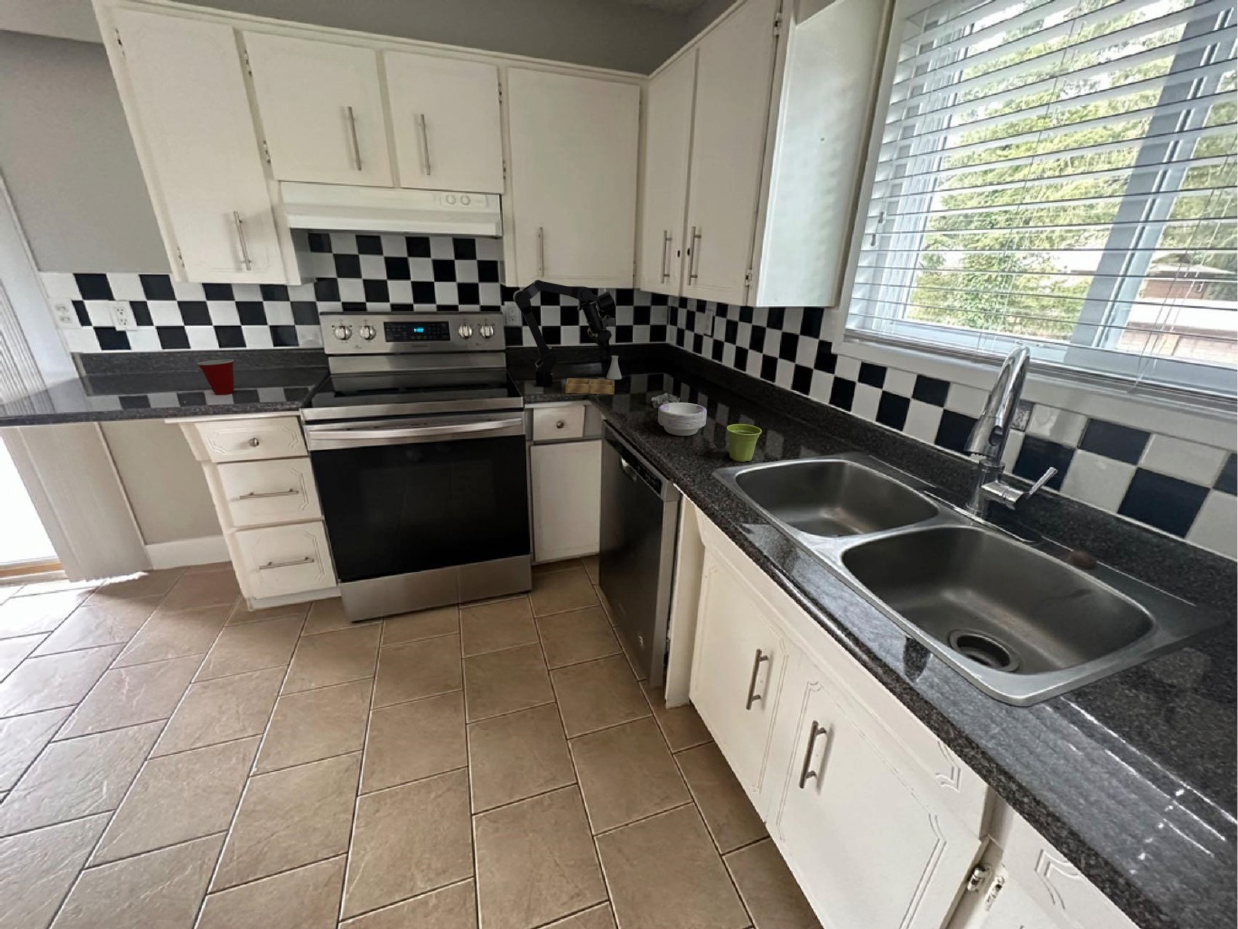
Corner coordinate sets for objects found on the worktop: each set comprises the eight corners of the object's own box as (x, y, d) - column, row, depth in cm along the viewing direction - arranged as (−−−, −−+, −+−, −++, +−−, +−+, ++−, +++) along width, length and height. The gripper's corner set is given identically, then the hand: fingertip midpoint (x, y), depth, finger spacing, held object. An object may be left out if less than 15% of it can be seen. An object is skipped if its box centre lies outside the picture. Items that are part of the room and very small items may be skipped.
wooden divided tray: (565, 392, 201) (565, 384, 200) (567, 386, 211) (567, 378, 209) (614, 394, 202) (614, 385, 200) (613, 388, 211) (614, 379, 210)
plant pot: (720, 461, 138) (724, 431, 135) (726, 450, 147) (729, 422, 143) (755, 466, 135) (759, 436, 132) (759, 455, 144) (763, 426, 140)
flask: (622, 376, 232) (623, 355, 228) (621, 380, 225) (622, 358, 221) (607, 376, 232) (607, 354, 229) (605, 379, 226) (605, 357, 222)
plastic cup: (233, 387, 191) (224, 356, 186) (248, 392, 186) (239, 359, 182) (199, 393, 182) (190, 360, 178) (214, 398, 177) (205, 364, 173)
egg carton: (665, 410, 183) (666, 400, 181) (648, 406, 187) (649, 396, 185) (681, 405, 190) (682, 394, 189) (665, 401, 195) (666, 390, 193)
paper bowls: (654, 424, 167) (655, 401, 164) (698, 424, 169) (701, 401, 166) (660, 439, 153) (662, 414, 150) (709, 439, 155) (712, 415, 152)
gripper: (616, 311, 200) (629, 347, 207) (604, 306, 216) (617, 340, 223) (591, 322, 199) (605, 358, 206) (581, 317, 215) (594, 350, 222)
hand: (606, 351), depth 214 cm, fingers open, 9 cm apart
